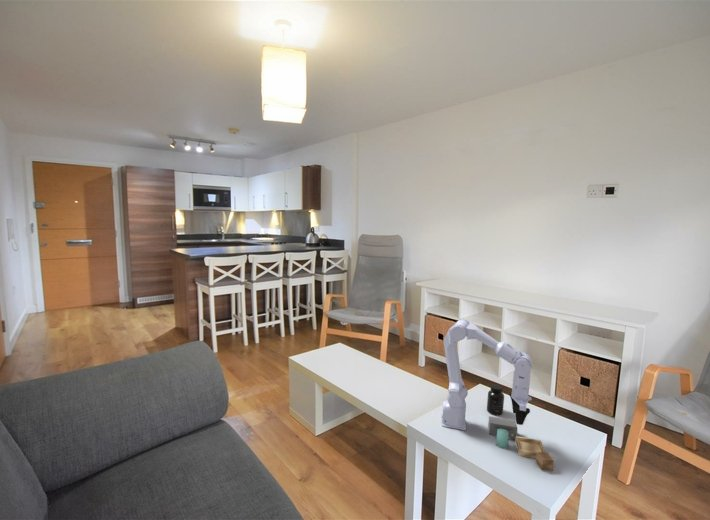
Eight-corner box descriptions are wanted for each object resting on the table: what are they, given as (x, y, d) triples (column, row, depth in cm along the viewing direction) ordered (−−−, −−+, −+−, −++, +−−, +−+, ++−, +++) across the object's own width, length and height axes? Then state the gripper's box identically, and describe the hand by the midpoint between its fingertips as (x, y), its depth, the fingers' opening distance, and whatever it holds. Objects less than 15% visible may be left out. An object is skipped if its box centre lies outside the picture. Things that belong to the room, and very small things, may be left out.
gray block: (489, 434, 142) (490, 423, 142) (488, 427, 147) (489, 416, 146) (517, 439, 140) (518, 427, 139) (514, 431, 144) (515, 420, 144)
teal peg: (496, 447, 135) (497, 433, 134) (495, 440, 139) (496, 427, 138) (508, 449, 134) (509, 435, 133) (506, 442, 137) (507, 429, 137)
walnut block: (541, 470, 123) (542, 460, 123) (535, 462, 127) (536, 452, 127) (552, 470, 123) (554, 460, 123) (546, 462, 127) (547, 452, 127)
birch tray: (519, 455, 130) (519, 450, 130) (515, 440, 139) (515, 435, 139) (546, 460, 128) (546, 455, 128) (540, 445, 137) (540, 440, 136)
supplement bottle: (485, 406, 163) (487, 382, 161) (500, 408, 162) (502, 383, 160) (488, 415, 156) (490, 389, 155) (504, 416, 155) (507, 391, 154)
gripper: (536, 396, 127) (533, 431, 129) (528, 378, 141) (525, 410, 142) (515, 393, 129) (512, 427, 130) (509, 375, 142) (506, 407, 144)
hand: (517, 418), depth 137 cm, fingers open, 7 cm apart
